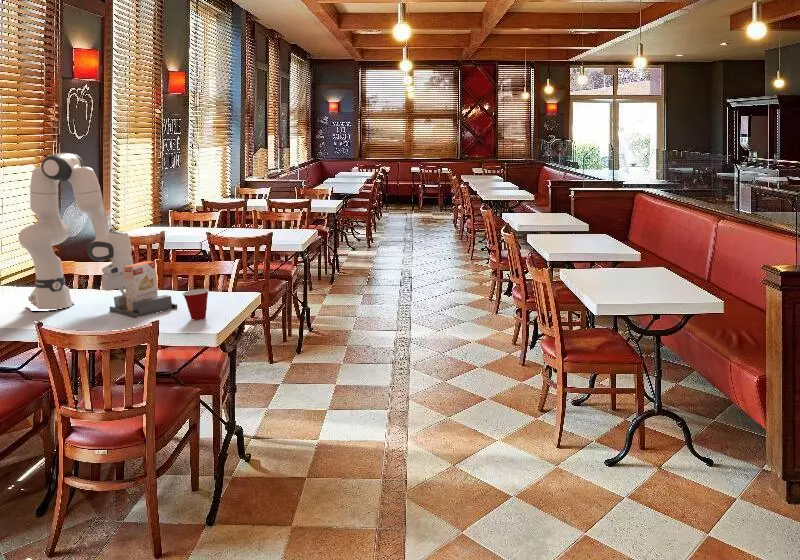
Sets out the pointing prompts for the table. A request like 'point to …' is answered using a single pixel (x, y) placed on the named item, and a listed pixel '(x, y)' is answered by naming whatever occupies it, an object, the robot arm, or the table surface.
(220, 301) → the table surface
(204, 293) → the plastic cup
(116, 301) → the block
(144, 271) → the cracker box
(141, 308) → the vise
